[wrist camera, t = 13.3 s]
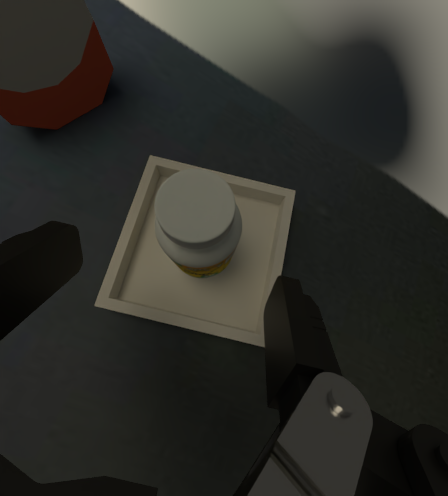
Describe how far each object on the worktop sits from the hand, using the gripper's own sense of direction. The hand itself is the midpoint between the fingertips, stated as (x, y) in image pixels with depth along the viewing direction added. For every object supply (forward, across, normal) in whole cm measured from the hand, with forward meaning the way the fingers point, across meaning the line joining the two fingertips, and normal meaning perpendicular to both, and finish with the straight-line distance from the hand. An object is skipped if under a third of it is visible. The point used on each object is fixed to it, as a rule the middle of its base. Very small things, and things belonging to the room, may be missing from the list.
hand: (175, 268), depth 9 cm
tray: (+11, 0, +6) cm, 12 cm away
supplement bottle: (+10, 0, +5) cm, 11 cm away
